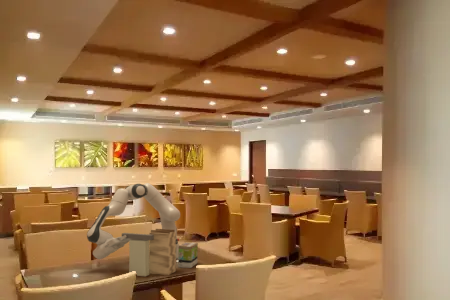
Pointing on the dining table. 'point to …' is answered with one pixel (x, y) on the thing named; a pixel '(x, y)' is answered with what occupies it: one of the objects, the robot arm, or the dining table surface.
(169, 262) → the stand
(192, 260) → the tea box
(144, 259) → the block
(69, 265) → the dining table surface
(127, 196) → the robot arm
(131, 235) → the bar
